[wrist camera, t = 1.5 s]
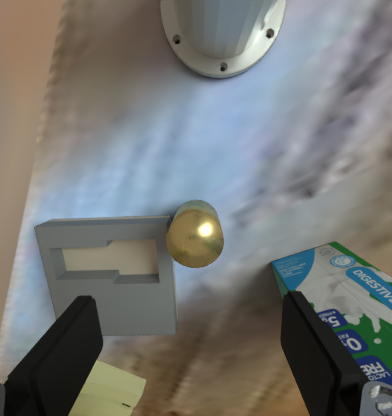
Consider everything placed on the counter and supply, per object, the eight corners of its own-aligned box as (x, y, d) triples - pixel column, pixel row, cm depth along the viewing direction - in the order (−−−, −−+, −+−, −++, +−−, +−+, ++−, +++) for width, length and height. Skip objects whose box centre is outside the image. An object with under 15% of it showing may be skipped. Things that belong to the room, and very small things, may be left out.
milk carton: (286, 313, 31) (575, 859, 7) (270, 261, 29) (594, 776, 5) (349, 296, 30) (932, 862, 6) (336, 240, 28) (1135, 759, 4)
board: (52, 219, 29) (34, 227, 25) (170, 215, 28) (166, 223, 25) (74, 318, 33) (60, 336, 29) (178, 317, 32) (175, 334, 29)
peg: (176, 195, 27) (163, 215, 19) (216, 194, 27) (223, 213, 18) (178, 233, 29) (168, 268, 20) (217, 232, 28) (224, 267, 20)
